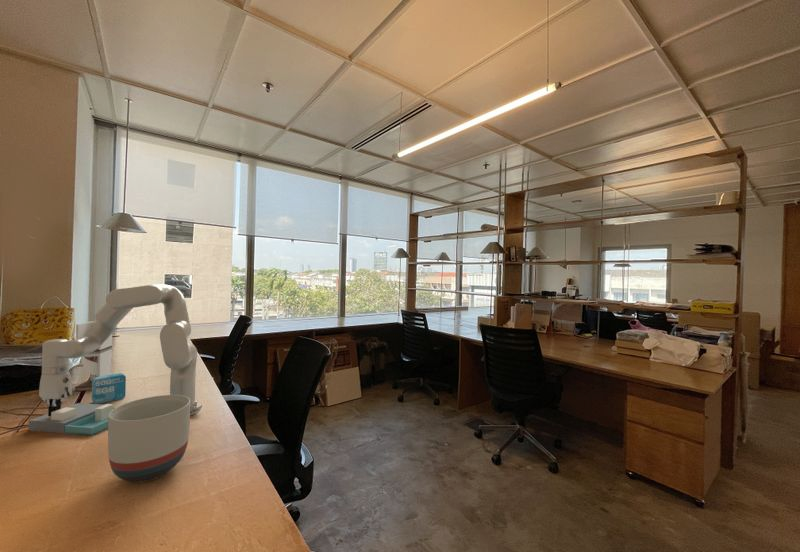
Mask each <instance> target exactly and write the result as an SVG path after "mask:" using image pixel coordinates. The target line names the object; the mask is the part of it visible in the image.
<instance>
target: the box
mask: <svg viewBox="0 0 800 552" xmlns="http://www.w3.org/2000/svg"><path fill="white" fill-rule="evenodd" d="M115 408H116V407H113V409H115ZM106 430H108V418H107V419H105V420H102V421H97V420H95V414H93V415H91V416H88V417H86V418H83V419H81V420H78V421H76V422H73V423H71V424H68V425H66V426H65V433H64V434H67V435H78V436H79V435H81V436H82V435H83V436H89V437H91V436H94V435H97V434H99V433H101V432H103V431H106Z"/></svg>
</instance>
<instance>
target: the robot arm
mask: <svg viewBox="0 0 800 552" xmlns="http://www.w3.org/2000/svg"><path fill="white" fill-rule="evenodd" d="M186 302H187V301H186V299H185V296H184V294H183V293H182V292H181V290H180V289H178V288H177V287H175V286H173V285H169V284H165V283H156V284H147V285H139V286H134V287H133V286H132V287H125V288H116V289H112V290H111V291H110V292H109V293H107V296H105V304H104V305H103V306H102V307H101V308H100V309H99V310H98V311H97V312H96V314H94V315H95V316H94V319H95V322H96V323H95V325H94V326H93V327H92V328H91V329H90V330H89V332H88V333H87V334H86V335H85V336H83V337H81V338H78V339H76V338H74V339H71V340H68V339H67V338H55V339H54V338H53V339H49V340H45V341H44V342H43V343H42V351H41V352H42V354H41V355H42V357H41V358H42V359H41V362H42V363H41V375H40V380H39V381H40V382H39V386H38V387H39V388H38V391H39V392H38V393H39V394H38V395H39V397H40V398H41V400H42V401H44V402H46V406H47V407H48V408H47V409H48V411H47V414H48V416H51V412H53V411H56V410H59V409H62V404H63V403H64V402H67V401H68V400H69V397H71V396H72V395H73V382H72V376H71V372H70V371H69V368H70V367H69V366H70V359H79V358H83V357H82V356H84V355H86V354H89V353H91V352H94V351H95V350H97V349H98V348H99V347H100V346H101V345H102V344H103V343H104V342H105V341H106V340H107V339H108V338H109V336H110V335H111V334H112V335H113V332H114V331H115V329H116V328H117V326H118V324H120V323H121V321H122V320H123V319H124V318H125V317H126V316H127V315H128V314H129V313H130V312H131V311H132V310H133V309H134V308H140V307H147V306H153V305H157V304H162V305H163V306H164V307H163V309H164V310H163V311H164V316H165V323H166V324H165V325H164V326H163V327H162V328H161V330H160V333H159V342H160V347H161V352H162V357H163V362H164V364H165V365H166V367H167V368H169V369H170V379H169V380H170V381H169V382H170V383H169V384H170V385H169V387H170V388H169V395H181V396H185V397H188V398H189V399H190V416H193V415H195V414H197V413H198V412H200V411H201V410H202V407H203V405H202V404H198V400H196V377H197V375H196V373H197V370H196V369H197V362H198V361H197V360H198V359H197V358H198V349H197V347H196V346H195V345H194V344H193V343H191V342H188V338H189V336H190V335H191V333H192V328H191V327H192V326H191V322H190V317H189V312H188V308H187V303H186Z"/></svg>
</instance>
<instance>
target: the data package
mask: <svg viewBox="0 0 800 552" xmlns="http://www.w3.org/2000/svg"><path fill="white" fill-rule="evenodd" d="M126 380H127V377H126V375H125V374H124V373H121V372H120V373H119V372H118V373H113V374H111V375H106V376H100V377H95V378H94V379H93V380H92V390H91V401H92V404H99V403H100V404H103V403H109V402H114V401H118V400H122V399H124V398H125V397H126V394H127V393H126V387H127V386H126V385H127V383H126V382H127V381H126Z"/></svg>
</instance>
